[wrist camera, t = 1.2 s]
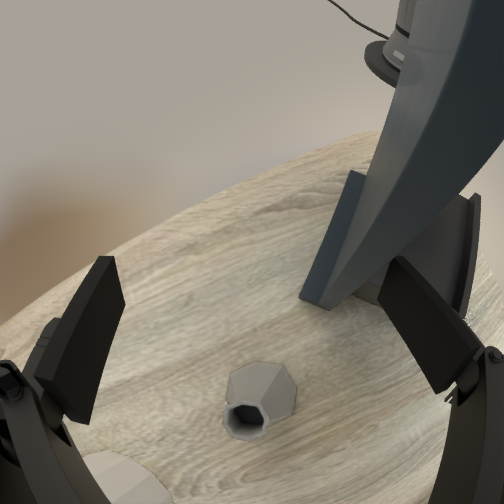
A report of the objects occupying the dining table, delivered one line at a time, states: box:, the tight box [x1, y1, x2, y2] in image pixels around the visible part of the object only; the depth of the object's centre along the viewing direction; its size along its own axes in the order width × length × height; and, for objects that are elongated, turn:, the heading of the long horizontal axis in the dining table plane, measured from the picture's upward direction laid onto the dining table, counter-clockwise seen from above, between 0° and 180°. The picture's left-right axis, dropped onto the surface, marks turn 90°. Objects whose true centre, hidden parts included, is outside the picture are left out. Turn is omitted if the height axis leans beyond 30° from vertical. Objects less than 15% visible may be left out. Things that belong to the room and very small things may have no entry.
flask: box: [222, 361, 297, 442], centre depth 20 cm, size 7×7×10 cm
